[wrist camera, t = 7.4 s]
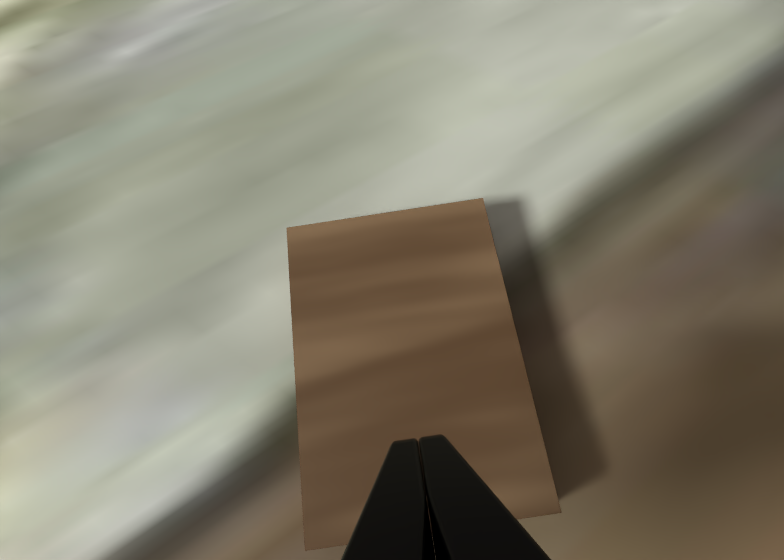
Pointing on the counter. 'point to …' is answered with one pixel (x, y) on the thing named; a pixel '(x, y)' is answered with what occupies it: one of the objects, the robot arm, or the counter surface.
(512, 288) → the counter surface
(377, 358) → the walnut tile
